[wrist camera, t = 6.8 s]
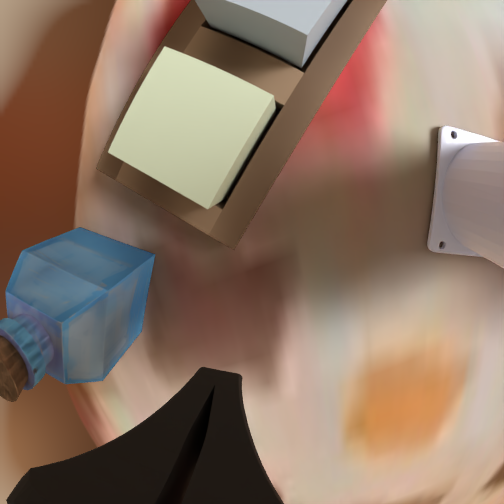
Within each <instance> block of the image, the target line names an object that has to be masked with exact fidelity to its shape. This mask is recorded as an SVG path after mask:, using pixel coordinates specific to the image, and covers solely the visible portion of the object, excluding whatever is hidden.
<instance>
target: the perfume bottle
mask: <svg viewBox="0 0 504 504" xmlns="http://www.w3.org/2000/svg"><path fill="white" fill-rule="evenodd" d="M154 258H155V254H153V253H150V252H147V251H144V250H141V249H139V248H136V247H133V246H130V245H127V244H125V243H122V242H119V241H116V240H114V239H111V238H108V237H105V236H103V235H100V234H97V233H94V232H92V231H89V230H86V229H84V228H81V227H79V228H77V229H74V230H71V231H69V232H66V233H64V234H61V235H59V236H56V237H54V238H51V239H49V240H46V241H44V242H41V243H39V244H36V245H34V246H32V247H29V248H27V249H25V250H23V251H22V252H21V254H20V256H19V259H18V261H17V264H16V266H15V268H14V271H13V273H12V276H11V278H10V281H9V283H8V286H7V288H6V304H7V314H8V318H3V319H2V320H0V396H1V397H3V398H4V399H6V400H8V401H11V402H14V401H16V400H17V398H18V397H19V395H20V393H21V391H22V389H24V390H30V389H32V388H33V387H34V386H35V385H36V384H37V383H38V382H39V381H40V380H41V379H42V378H43V377H44V375H45V373H47V374H48V375H50V376H52V377H54V378H55V379H57V380H59V381H61V382H62V383H64V384H73V383H85V382H96V381H103V380H104V379H105V377H106V376H107V375H108V373H109V372H110V371H111V370H112V368H113V367H114V366H115V364H116V363H117V362H118V361H119V359H120V358H121V357H122V355H123V354H124V353H125V352H126V350H127V349H128V348H129V347H130V345H131V344H132V343H133V342H134V340H135V339H136V338H137V337H138V335H139V334H140V333H141V332H142V325H143V319H144V313H145V307H146V301H147V295H148V290H149V284H150V279H151V274H152V268H153V263H154Z"/></svg>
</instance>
